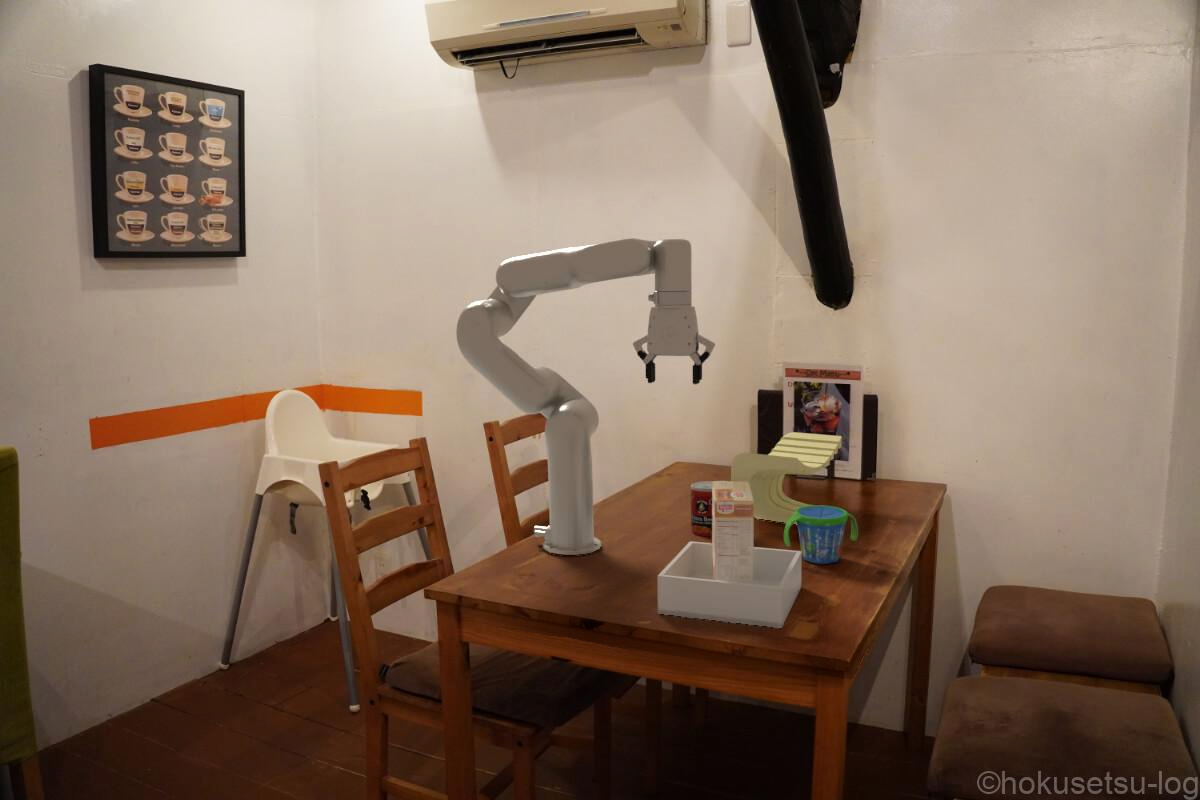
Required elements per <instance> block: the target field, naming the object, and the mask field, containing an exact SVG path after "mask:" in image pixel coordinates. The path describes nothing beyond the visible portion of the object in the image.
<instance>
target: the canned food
mask: <svg viewBox="0 0 1200 800" xmlns="http://www.w3.org/2000/svg"><path fill="white" fill-rule="evenodd" d="M713 481H714V480H713ZM713 481H712V480H711V481H710V480H705V481H704V480H703V481H696V482H693V483H691V485H690V529H691V533H692V534H693V535H697V536H700V535H701V536H700V537H712V482H713Z"/></svg>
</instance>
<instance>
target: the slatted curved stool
mask: <svg viewBox="0 0 1200 800" xmlns="http://www.w3.org/2000/svg"><path fill="white" fill-rule="evenodd" d="M842 437H843V436H842V435H833V434H832V435H831V434H819V433H808V432H807V433H806V432H805V433H804V432H795V431H792V432H788V433H786V434H785V435H783V436H781V437H780V439H779V441H778V442H777V443H776V444H775V446H774V447H773V448H771V451H770V452H769V453H768V454H762V453H752V452H741V453H738V454H737V455H735V456H734V458H733V459H732V461H731V465H730V481H734V482H736V481H739V482H749V485H750V489H751V493H752V497H753V501H754V518H755V519H757V520H759V519H764V520H763V521H765V520H771V521H770V522H772V521H776V522H775V523H779V522H784V523H783V524H786V523H787V521H788V520H789V518H790V517H792V516H793V515H794V514H795V511H796V510H797V509H798V508H801V507H805V506H813V505H814V504H808V503H805V502H800V501H797V500H794V499H792V498H790V497H788V496H787V495H786V494H785V493H784V491H783V483H784V478H785V476H786V475H799V476H800V475H802V476H803V475H804V476H812V475H813V474H815V473H817V472H819V471H821V470H823V469H824V468H827V467H828V466H830V465H831V463H830V461H832V460H834V459H835V458H834V457H835V455H836V454H838V453H839V452H838V451H839V449H841V448H842V439H843V438H842ZM777 521H778V522H777ZM793 524H796V525H795V526H798V525H797V522H796V521H795V522H794V523H793Z"/></svg>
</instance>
